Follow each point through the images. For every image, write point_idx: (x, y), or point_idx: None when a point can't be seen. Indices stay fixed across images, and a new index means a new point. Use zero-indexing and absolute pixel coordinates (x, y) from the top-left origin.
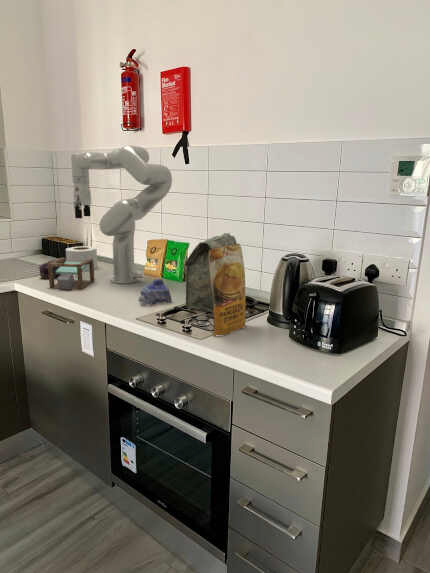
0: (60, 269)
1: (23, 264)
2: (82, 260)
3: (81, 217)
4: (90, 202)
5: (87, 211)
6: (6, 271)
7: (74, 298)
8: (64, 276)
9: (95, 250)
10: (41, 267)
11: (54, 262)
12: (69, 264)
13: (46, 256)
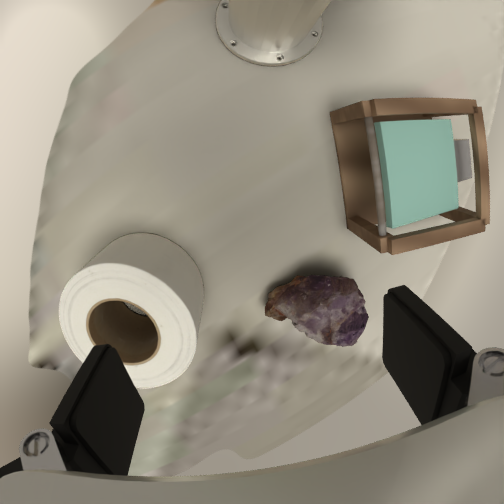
0: (446, 200)
1: (198, 451)
2: (182, 273)
3: (407, 290)
4: (41, 497)
5: (106, 412)
6: (289, 436)
7: (484, 93)
8: (462, 161)
9: (98, 261)
10: (364, 327)
11: (471, 221)
12: (485, 144)
13: None
